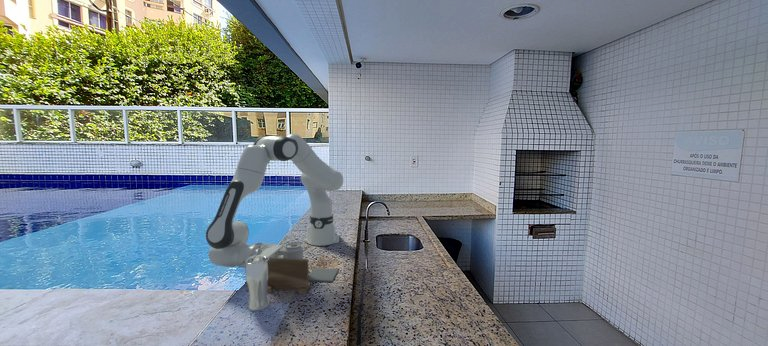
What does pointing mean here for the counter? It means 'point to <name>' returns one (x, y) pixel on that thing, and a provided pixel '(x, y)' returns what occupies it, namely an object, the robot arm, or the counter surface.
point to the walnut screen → (288, 275)
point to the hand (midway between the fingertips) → (284, 257)
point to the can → (293, 251)
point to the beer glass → (257, 282)
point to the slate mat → (322, 275)
